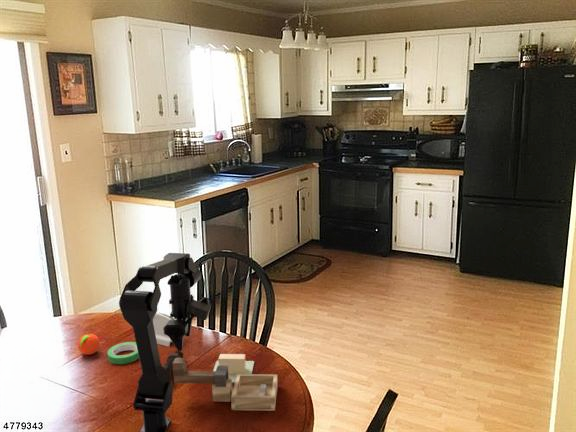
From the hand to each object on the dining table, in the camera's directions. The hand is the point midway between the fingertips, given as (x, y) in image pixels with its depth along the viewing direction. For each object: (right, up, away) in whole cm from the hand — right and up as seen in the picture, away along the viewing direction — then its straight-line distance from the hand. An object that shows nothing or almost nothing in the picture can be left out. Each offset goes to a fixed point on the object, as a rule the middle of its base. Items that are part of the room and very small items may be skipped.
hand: (184, 343), depth 151 cm
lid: (+14, -12, +8) cm, 20 cm away
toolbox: (+19, -14, -6) cm, 24 cm away
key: (+5, -9, -6) cm, 12 cm away
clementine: (-37, -9, +21) cm, 44 cm away
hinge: (-16, -6, +32) cm, 37 cm away
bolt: (-6, -12, +10) cm, 16 cm away
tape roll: (-24, -10, +20) cm, 33 cm away
